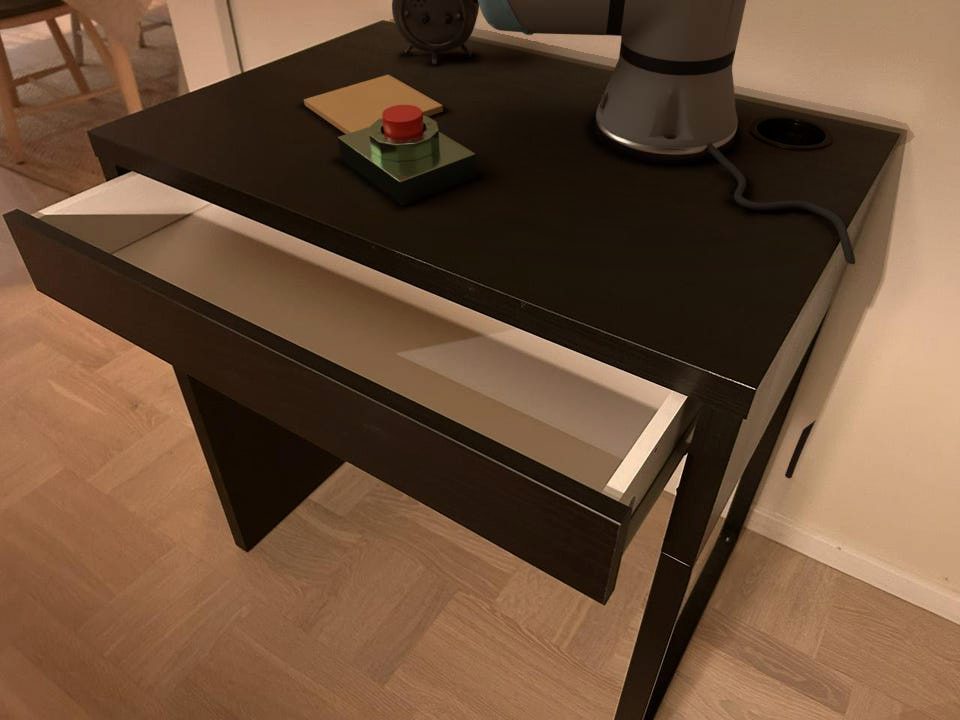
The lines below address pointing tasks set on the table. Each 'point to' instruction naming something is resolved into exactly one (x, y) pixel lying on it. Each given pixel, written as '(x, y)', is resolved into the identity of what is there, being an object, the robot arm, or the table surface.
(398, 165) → the control box
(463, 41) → the alarm clock
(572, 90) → the table surface
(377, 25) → the table surface
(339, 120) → the cork mat
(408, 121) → the button
